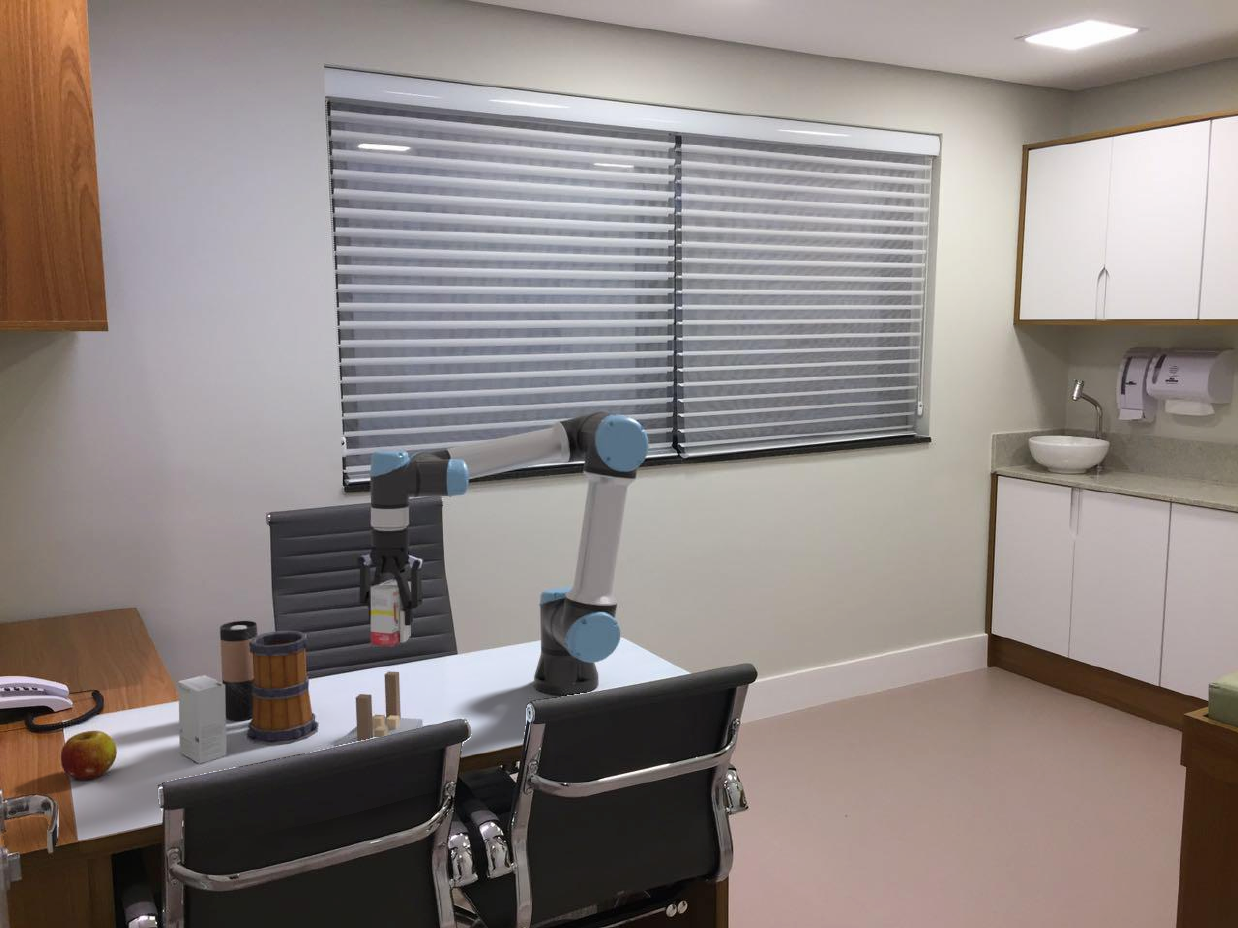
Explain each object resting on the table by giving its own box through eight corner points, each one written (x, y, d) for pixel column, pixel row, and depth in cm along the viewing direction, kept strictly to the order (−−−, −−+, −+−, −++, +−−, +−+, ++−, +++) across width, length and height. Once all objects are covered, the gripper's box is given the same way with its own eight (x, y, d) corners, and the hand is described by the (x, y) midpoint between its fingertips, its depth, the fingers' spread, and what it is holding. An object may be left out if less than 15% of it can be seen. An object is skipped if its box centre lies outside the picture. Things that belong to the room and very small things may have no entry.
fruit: (50, 780, 189) (46, 739, 188) (90, 761, 197) (88, 722, 196) (88, 788, 185) (85, 746, 184) (128, 769, 194) (126, 728, 193)
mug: (270, 710, 224) (265, 621, 222) (335, 710, 223) (331, 621, 221) (234, 745, 205) (229, 648, 202) (305, 745, 204) (301, 648, 202)
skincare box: (179, 754, 200) (174, 681, 199) (208, 744, 205) (204, 673, 203) (200, 765, 195) (196, 690, 193) (230, 755, 200) (225, 681, 198)
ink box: (391, 647, 204) (390, 589, 202) (369, 645, 205) (368, 587, 204) (412, 636, 212) (411, 580, 210) (391, 634, 213) (390, 578, 212)
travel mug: (269, 710, 224) (264, 622, 221) (245, 723, 216) (241, 631, 214) (240, 707, 226) (235, 619, 224) (216, 719, 219) (211, 628, 217)
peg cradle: (422, 725, 214) (420, 673, 213) (392, 756, 198) (390, 699, 197) (368, 722, 216) (366, 670, 215) (334, 752, 201) (332, 696, 199)
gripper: (439, 526, 208) (440, 637, 210) (356, 522, 211) (357, 631, 214) (425, 532, 200) (426, 647, 203) (339, 528, 204) (341, 641, 206)
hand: (391, 639), depth 208 cm, fingers closed on ink box, 5 cm apart
